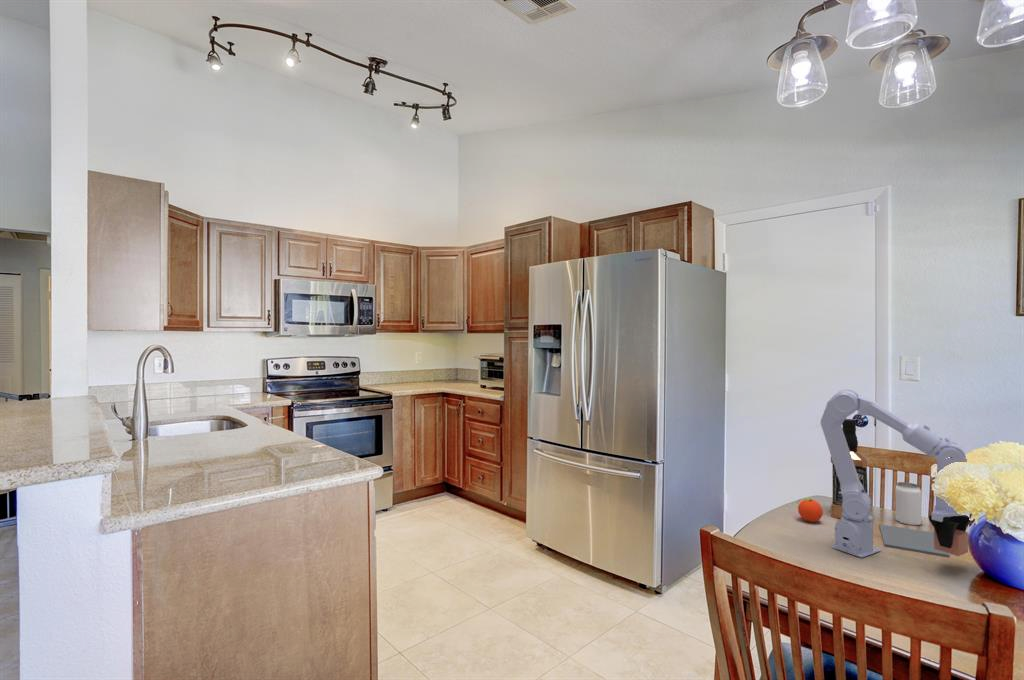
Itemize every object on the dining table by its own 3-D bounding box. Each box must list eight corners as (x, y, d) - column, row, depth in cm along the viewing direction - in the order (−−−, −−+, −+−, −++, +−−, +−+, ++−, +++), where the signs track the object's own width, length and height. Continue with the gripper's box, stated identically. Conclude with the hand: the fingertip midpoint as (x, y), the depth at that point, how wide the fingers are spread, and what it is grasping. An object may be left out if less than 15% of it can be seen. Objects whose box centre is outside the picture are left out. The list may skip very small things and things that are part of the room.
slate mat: (949, 557, 134) (949, 555, 134) (884, 546, 141) (884, 544, 141) (937, 535, 149) (937, 533, 149) (879, 526, 156) (879, 524, 156)
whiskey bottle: (830, 517, 165) (829, 420, 165) (833, 508, 172) (832, 416, 173) (869, 523, 158) (868, 422, 158) (870, 515, 166) (869, 418, 166)
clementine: (790, 518, 164) (789, 496, 164) (804, 515, 167) (803, 493, 167) (813, 526, 157) (813, 503, 157) (827, 522, 160) (827, 500, 160)
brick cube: (958, 556, 124) (958, 536, 124) (934, 548, 128) (934, 529, 128) (968, 552, 126) (967, 532, 126) (943, 545, 130) (943, 525, 130)
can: (898, 523, 158) (897, 485, 158) (893, 517, 164) (893, 480, 164) (924, 527, 155) (923, 488, 155) (918, 520, 161) (918, 483, 161)
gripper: (956, 499, 120) (956, 556, 120) (983, 491, 127) (984, 544, 127) (921, 492, 126) (921, 545, 126) (949, 484, 133) (949, 535, 133)
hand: (950, 544), depth 127 cm, fingers closed on brick cube, 5 cm apart
